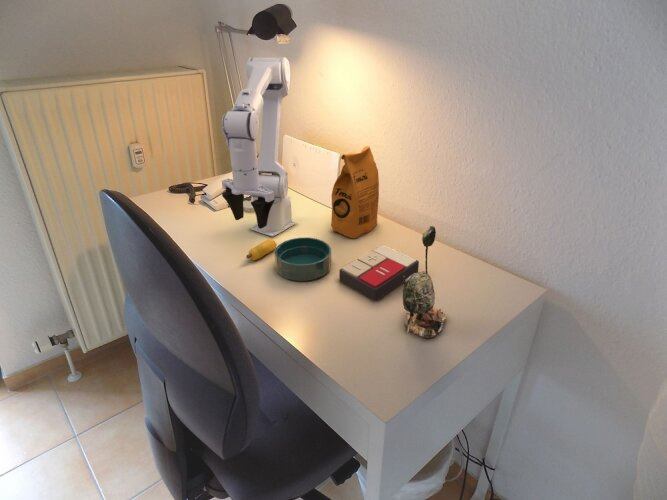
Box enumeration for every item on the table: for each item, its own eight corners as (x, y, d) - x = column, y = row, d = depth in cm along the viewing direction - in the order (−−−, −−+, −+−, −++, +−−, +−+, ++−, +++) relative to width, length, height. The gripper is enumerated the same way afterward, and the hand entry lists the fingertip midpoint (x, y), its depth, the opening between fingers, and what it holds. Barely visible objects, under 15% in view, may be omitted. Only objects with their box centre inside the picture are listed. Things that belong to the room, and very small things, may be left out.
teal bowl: (299, 248, 110) (298, 232, 108) (341, 263, 104) (341, 246, 102) (264, 270, 101) (263, 254, 99) (308, 288, 94) (308, 271, 92)
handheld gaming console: (229, 200, 133) (264, 186, 144) (230, 205, 134) (265, 190, 144) (251, 208, 128) (286, 193, 138) (251, 213, 129) (286, 198, 139)
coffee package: (325, 230, 119) (324, 151, 108) (355, 216, 127) (357, 141, 116) (353, 241, 113) (355, 160, 102) (382, 226, 121) (386, 149, 110)
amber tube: (270, 245, 111) (269, 235, 110) (279, 248, 110) (278, 238, 109) (244, 261, 105) (242, 250, 103) (253, 265, 103) (251, 254, 102)
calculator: (338, 267, 95) (382, 241, 104) (338, 282, 97) (382, 256, 106) (375, 287, 88) (420, 258, 97) (375, 304, 91) (418, 273, 99)
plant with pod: (385, 326, 83) (392, 234, 74) (425, 304, 89) (436, 216, 80) (416, 349, 78) (428, 253, 68) (456, 324, 84) (473, 232, 74)
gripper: (208, 166, 96) (216, 221, 103) (256, 179, 89) (261, 237, 96) (232, 157, 101) (238, 210, 108) (278, 169, 94) (282, 225, 101)
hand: (250, 222), depth 102 cm, fingers open, 7 cm apart
